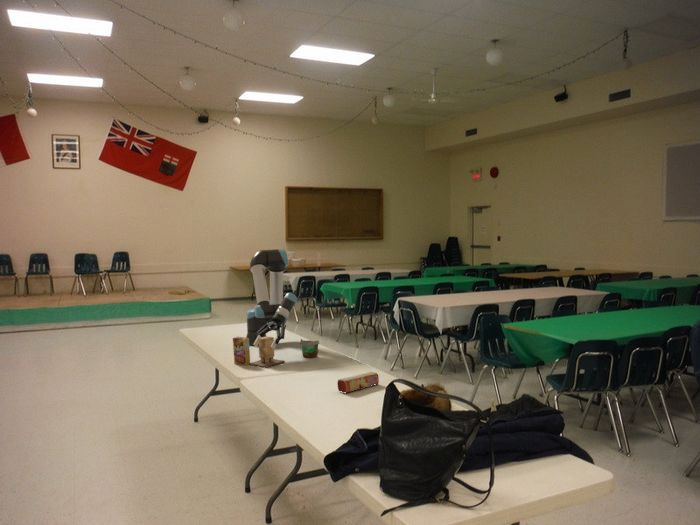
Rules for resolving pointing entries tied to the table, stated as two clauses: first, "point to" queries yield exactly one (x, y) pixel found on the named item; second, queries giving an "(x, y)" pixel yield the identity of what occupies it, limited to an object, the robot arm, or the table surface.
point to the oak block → (266, 347)
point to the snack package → (357, 381)
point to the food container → (309, 348)
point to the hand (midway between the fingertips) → (263, 347)
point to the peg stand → (267, 362)
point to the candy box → (241, 350)
